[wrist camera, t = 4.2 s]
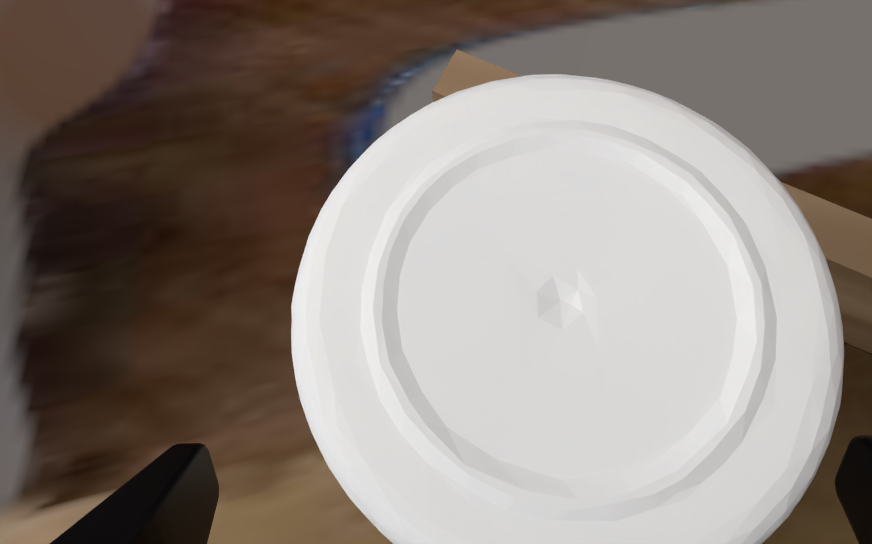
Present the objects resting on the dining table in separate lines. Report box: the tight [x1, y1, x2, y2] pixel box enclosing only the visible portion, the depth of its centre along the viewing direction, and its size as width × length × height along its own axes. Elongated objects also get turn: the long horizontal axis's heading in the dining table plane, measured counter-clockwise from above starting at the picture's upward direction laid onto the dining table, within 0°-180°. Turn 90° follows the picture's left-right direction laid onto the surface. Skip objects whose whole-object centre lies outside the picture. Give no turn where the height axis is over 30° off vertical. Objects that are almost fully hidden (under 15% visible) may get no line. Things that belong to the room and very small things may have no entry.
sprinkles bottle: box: [291, 74, 844, 544], centre depth 11 cm, size 5×5×13 cm
